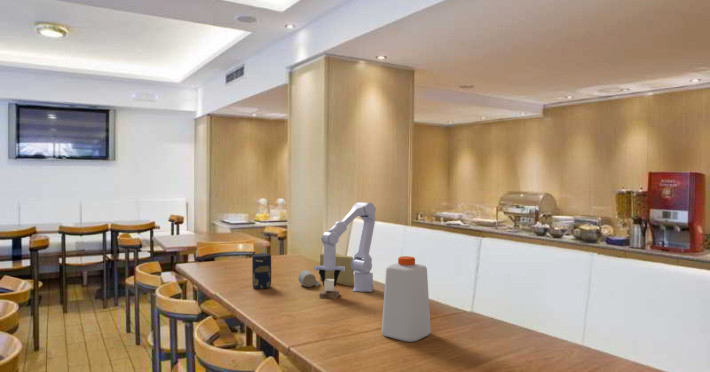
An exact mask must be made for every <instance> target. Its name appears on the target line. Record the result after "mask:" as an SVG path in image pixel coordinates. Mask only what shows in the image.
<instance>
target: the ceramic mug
mask: <svg viewBox="0 0 710 372" xmlns="http://www.w3.org/2000/svg"><path fill="white" fill-rule="evenodd" d="M298 281H299V283H300V284H301V285H302V286H304V287H306V288H313V287H314V286H315V285H316V286H318V287H319V286H320V285H321V282H320V281H318V280H317V279H316V276H315V275H314V274H313V273H312V272H311V271H310V270H307V269H305V270H302V271H301V272H300V273H299V275H298Z"/></svg>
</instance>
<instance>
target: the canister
mask: <svg viewBox="0 0 710 372" xmlns="http://www.w3.org/2000/svg"><path fill="white" fill-rule="evenodd" d="M251 259H252V260H251V261H252V265H251V266H252V268H251V269H252V271H251V272H252V273H251V274H252V276H251V278H252V280H251V281H252V283H251V285H252V288H255V289H259V290H260V289H261V290H262V289H268V288H270V287H271V286H272V256H271V254H270V253H263V252H261V253H255V254H253V255H252V258H251Z"/></svg>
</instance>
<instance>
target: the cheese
mask: <svg viewBox="0 0 710 372" xmlns="http://www.w3.org/2000/svg"><path fill="white" fill-rule="evenodd" d="M353 259H354V257H353V256H349V255H343V254H339V253H336V266H342V267H345V271H340V273H339V276H338V278H337V282H336V284H340V285H345V286H347V287H348V286H349V287H354V269H353V268H352V266H351V263H352V260H353ZM319 266H324V252H323V253H321V254H319ZM333 270H334V269H333ZM319 279H320V281H322V279H321V276H320V275H319ZM325 279H334V271H326V272H325Z"/></svg>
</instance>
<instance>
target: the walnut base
mask: <svg viewBox="0 0 710 372" xmlns="http://www.w3.org/2000/svg"><path fill="white" fill-rule="evenodd" d="M339 295H340V289H339V290H338V289H337V290H336V289H334V291H329V290H324V289H322V290H321V292H319V296H318V297H319V299H332V300H333V299H335V300H336V299H337V298H338V297H339Z"/></svg>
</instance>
